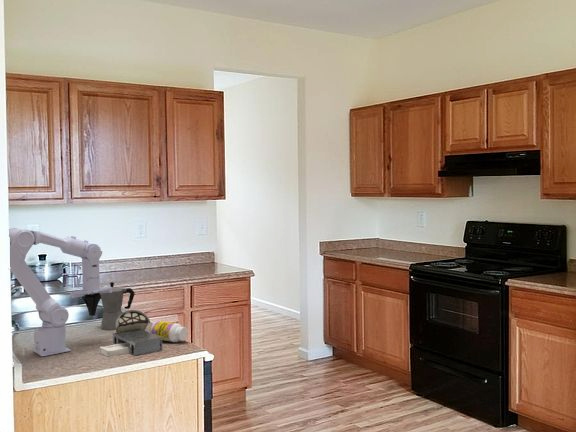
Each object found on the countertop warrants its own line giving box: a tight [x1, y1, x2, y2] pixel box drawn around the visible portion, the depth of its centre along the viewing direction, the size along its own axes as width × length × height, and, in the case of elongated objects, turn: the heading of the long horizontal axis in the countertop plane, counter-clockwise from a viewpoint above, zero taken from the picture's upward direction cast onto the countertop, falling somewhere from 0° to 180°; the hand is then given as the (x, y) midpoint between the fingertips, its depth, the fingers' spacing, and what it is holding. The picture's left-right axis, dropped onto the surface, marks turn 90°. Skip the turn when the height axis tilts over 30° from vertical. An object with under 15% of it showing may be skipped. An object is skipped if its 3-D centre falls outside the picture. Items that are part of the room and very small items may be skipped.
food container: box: [115, 309, 151, 333], centre depth 207 cm, size 12×6×10 cm
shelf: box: [112, 329, 163, 357], centre depth 197 cm, size 10×16×4 cm, turn 42°
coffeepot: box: [100, 281, 135, 331], centre depth 226 cm, size 15×9×18 cm, turn 90°
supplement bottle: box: [150, 320, 189, 343], centre depth 205 cm, size 7×7×13 cm
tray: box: [99, 342, 130, 358], centre depth 193 cm, size 12×6×2 cm, turn 132°
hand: (92, 315), depth 203 cm, fingers closed
